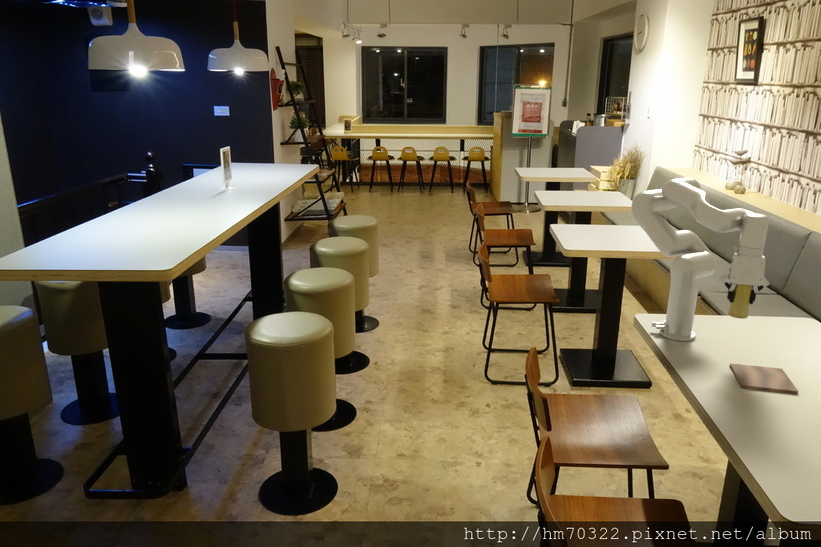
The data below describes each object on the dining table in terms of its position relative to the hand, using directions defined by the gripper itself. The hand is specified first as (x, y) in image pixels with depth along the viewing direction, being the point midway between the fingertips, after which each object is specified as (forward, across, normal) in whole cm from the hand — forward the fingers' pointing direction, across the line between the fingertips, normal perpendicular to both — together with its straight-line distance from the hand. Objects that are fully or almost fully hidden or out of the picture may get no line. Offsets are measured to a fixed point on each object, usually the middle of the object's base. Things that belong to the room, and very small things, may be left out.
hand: (740, 301), depth 212 cm
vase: (+5, 0, 0) cm, 5 cm away
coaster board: (+21, +6, -15) cm, 27 cm away
